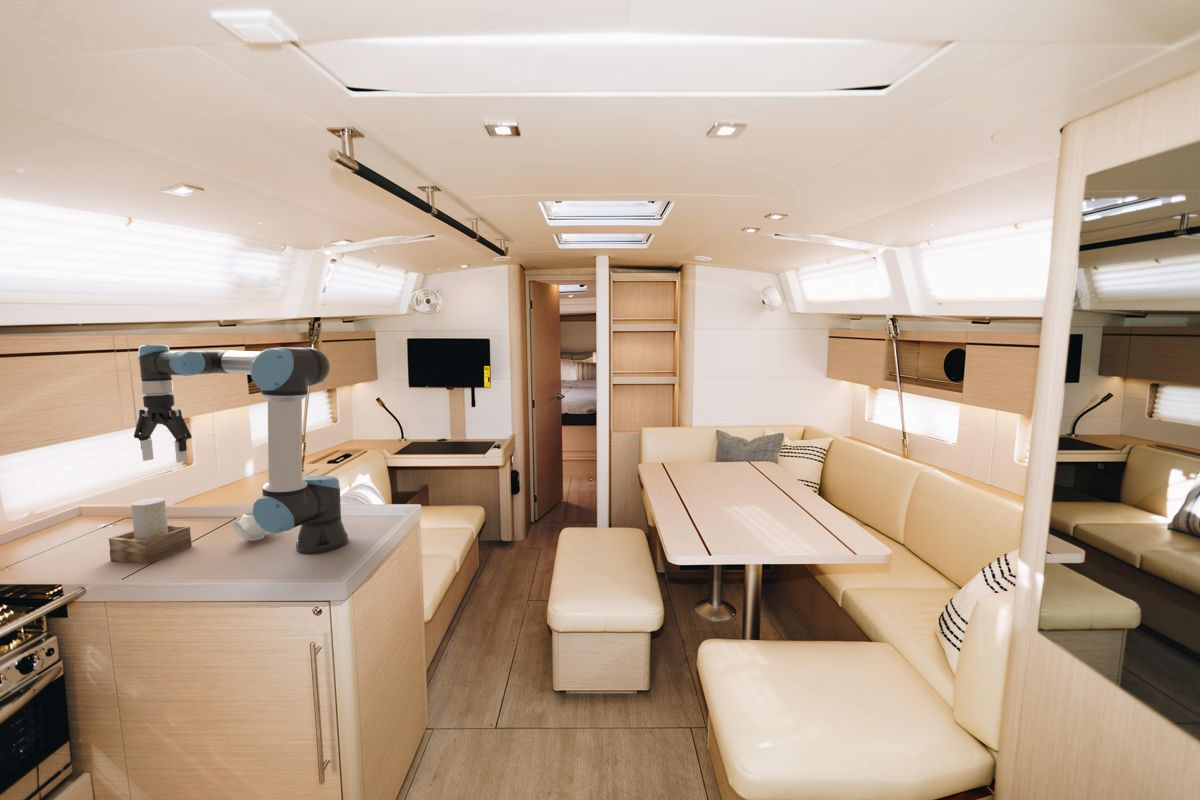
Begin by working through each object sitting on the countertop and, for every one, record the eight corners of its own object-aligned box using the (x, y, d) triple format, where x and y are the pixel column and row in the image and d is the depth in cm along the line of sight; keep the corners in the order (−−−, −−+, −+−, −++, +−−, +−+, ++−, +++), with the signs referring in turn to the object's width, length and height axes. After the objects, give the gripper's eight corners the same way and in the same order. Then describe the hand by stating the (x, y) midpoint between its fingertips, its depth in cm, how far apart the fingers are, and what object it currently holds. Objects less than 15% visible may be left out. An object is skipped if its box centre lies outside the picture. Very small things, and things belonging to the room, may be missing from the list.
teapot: (288, 529, 192) (286, 504, 191) (249, 551, 172) (247, 523, 171) (262, 529, 192) (260, 503, 191) (220, 550, 172) (218, 522, 171)
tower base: (191, 546, 176) (190, 536, 175) (149, 564, 162) (148, 552, 162) (155, 544, 178) (154, 534, 177) (110, 561, 164) (109, 550, 164)
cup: (148, 544, 164) (145, 506, 163) (127, 542, 166) (124, 504, 165) (174, 535, 172) (171, 498, 171) (154, 533, 174) (151, 497, 173)
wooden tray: (190, 537, 175) (189, 526, 174) (145, 553, 161) (144, 542, 161) (156, 533, 178) (155, 523, 177) (109, 549, 164) (108, 538, 164)
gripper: (201, 393, 169) (207, 459, 171) (140, 392, 175) (147, 456, 177) (177, 395, 162) (184, 464, 164) (114, 395, 167) (122, 461, 170)
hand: (164, 460), depth 170 cm, fingers open, 13 cm apart
